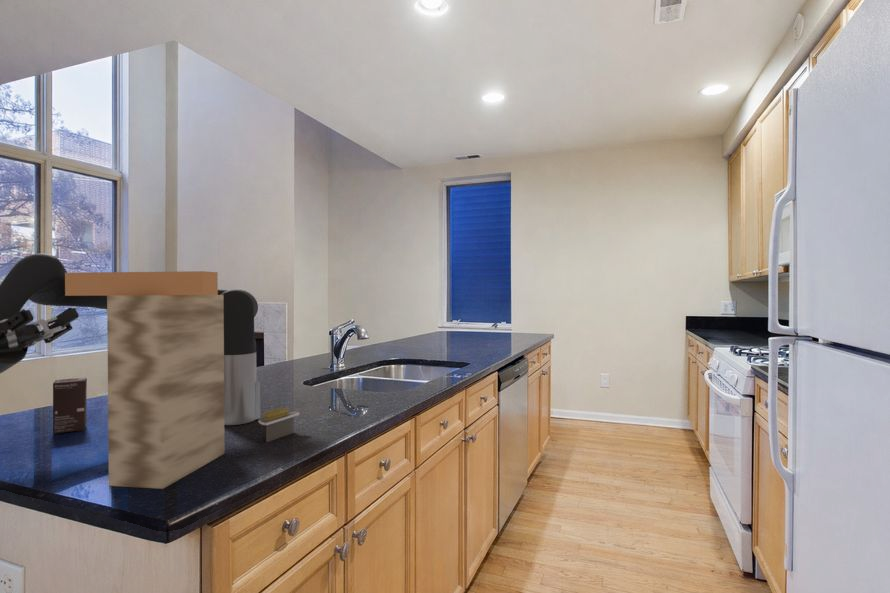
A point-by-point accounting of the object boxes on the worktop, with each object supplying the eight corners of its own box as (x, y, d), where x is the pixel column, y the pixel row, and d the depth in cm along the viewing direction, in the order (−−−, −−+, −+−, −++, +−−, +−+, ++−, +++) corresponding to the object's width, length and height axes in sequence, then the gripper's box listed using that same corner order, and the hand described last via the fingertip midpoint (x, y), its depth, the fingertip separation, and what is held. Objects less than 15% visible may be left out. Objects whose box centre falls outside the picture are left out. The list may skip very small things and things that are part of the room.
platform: (224, 446, 99) (224, 416, 99) (288, 425, 115) (288, 398, 115) (264, 455, 94) (264, 422, 94) (325, 431, 110) (325, 403, 110)
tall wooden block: (108, 485, 78) (107, 295, 78) (179, 451, 95) (177, 295, 95) (163, 488, 77) (161, 295, 76) (224, 453, 94) (223, 294, 93)
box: (52, 435, 106) (51, 382, 106) (55, 430, 110) (54, 379, 110) (85, 430, 110) (85, 379, 110) (87, 426, 113) (86, 377, 113)
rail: (65, 295, 81) (65, 272, 81) (85, 295, 85) (85, 273, 85) (203, 295, 78) (202, 271, 78) (217, 295, 82) (217, 272, 82)
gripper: (-70, 343, 79) (2, 294, 77) (17, 335, 93) (80, 294, 91) (-50, 381, 78) (22, 334, 76) (34, 368, 92) (97, 327, 90)
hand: (53, 312), depth 84 cm, fingers open, 8 cm apart
